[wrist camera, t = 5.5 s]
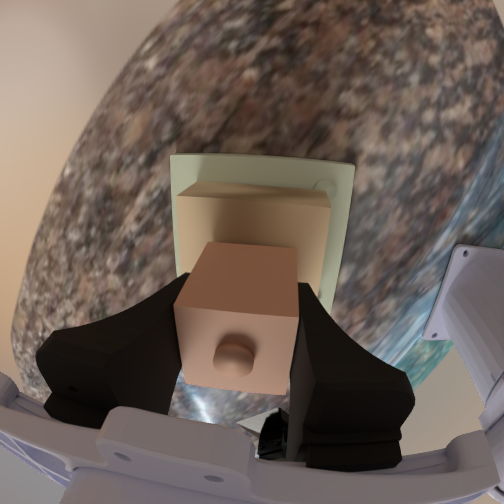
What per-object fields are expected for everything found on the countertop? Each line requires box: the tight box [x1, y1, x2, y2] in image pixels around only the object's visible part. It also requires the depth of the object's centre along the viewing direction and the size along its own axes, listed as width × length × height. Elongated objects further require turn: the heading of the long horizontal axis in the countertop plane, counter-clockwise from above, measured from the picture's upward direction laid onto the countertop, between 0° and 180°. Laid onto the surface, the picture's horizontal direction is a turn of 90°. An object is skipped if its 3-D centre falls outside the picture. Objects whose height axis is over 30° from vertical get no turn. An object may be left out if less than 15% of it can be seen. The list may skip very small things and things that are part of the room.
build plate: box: [170, 153, 355, 315], centre depth 18 cm, size 10×10×1 cm
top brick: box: [173, 242, 299, 395], centre depth 12 cm, size 4×4×5 cm
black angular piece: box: [237, 408, 289, 462], centre depth 26 cm, size 12×7×5 cm, turn 39°
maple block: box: [176, 182, 331, 297], centre depth 16 cm, size 7×7×3 cm
